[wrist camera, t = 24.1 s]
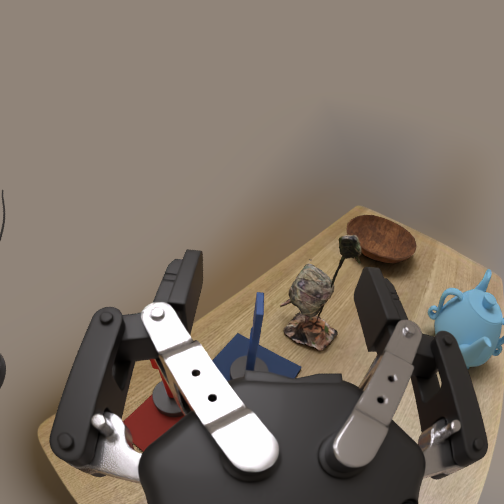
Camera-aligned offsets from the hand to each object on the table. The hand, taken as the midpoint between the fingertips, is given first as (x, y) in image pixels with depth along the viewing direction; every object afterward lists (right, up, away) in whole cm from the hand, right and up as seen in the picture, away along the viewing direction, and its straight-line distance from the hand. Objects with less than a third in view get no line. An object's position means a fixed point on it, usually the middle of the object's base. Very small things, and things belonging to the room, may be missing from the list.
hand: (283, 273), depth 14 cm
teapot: (+40, -19, +32) cm, 55 cm away
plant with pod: (+8, -13, +35) cm, 38 cm away
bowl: (+32, +1, +59) cm, 67 cm away
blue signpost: (-2, -17, +26) cm, 31 cm away
